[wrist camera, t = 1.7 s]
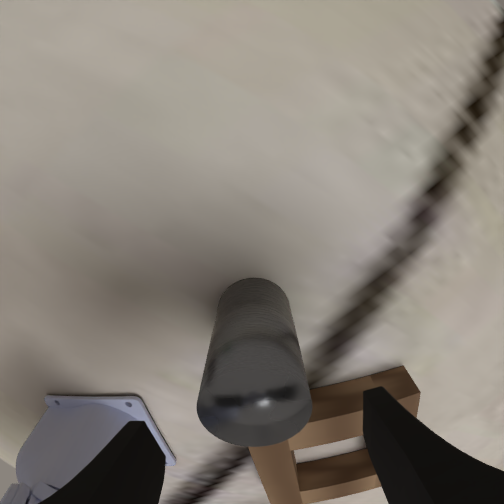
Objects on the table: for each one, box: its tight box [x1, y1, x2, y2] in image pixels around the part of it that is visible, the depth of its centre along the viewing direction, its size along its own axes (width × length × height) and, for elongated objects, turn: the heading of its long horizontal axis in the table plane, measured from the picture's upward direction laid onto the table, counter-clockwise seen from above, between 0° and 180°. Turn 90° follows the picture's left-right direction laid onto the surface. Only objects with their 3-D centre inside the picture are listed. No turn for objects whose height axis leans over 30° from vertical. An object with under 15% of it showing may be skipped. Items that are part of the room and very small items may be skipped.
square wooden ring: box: [248, 366, 421, 504], centre depth 19 cm, size 11×11×3 cm
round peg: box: [197, 278, 312, 447], centre depth 14 cm, size 4×4×8 cm
